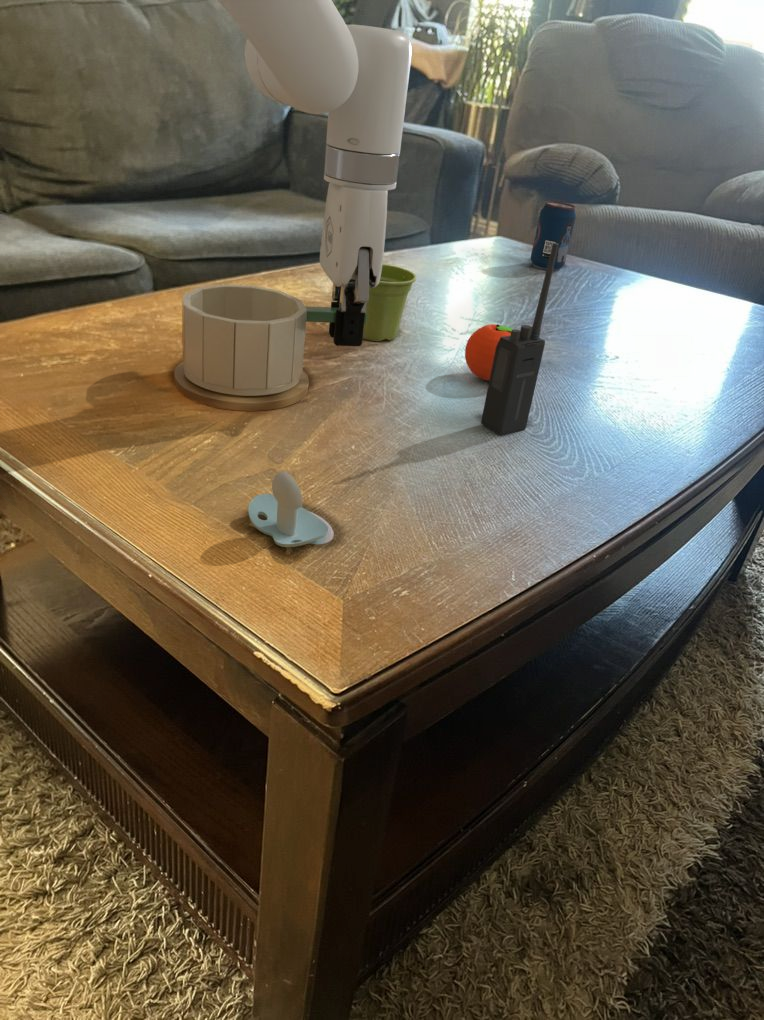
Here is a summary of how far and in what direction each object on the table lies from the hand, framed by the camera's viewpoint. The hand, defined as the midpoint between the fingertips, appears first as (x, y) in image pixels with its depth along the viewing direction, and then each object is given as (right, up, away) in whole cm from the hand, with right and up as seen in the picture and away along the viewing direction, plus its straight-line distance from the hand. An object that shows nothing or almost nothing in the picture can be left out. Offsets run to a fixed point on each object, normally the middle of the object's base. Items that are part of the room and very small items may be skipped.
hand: (345, 339), depth 89 cm
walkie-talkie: (+18, -10, -2) cm, 21 cm away
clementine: (+18, -3, +10) cm, 21 cm away
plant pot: (+3, +5, +20) cm, 20 cm away
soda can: (+37, +29, +68) cm, 83 cm away
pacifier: (-3, -22, -25) cm, 34 cm away
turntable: (-12, -5, 0) cm, 13 cm away
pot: (-8, -4, 0) cm, 9 cm away
